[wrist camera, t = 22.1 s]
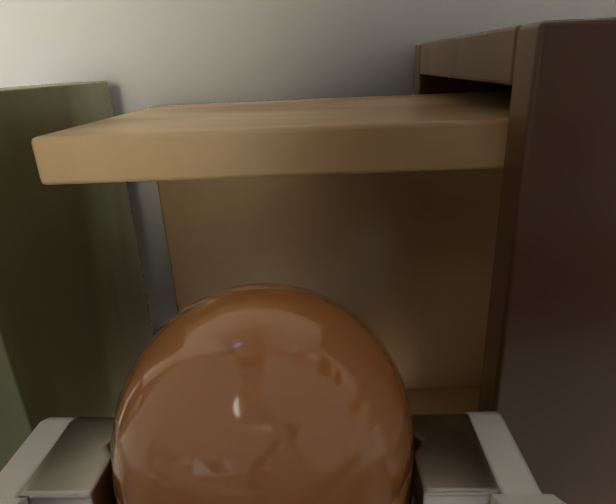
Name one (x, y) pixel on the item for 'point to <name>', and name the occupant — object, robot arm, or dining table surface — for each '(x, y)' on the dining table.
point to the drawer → (242, 230)
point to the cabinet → (549, 243)
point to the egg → (263, 407)
